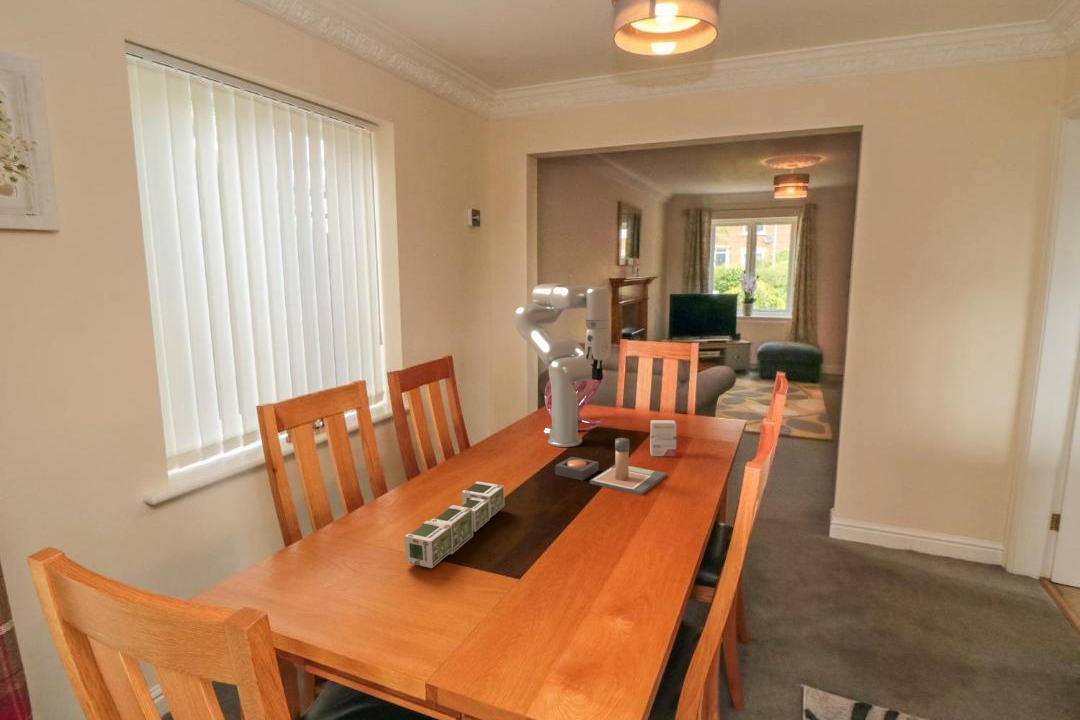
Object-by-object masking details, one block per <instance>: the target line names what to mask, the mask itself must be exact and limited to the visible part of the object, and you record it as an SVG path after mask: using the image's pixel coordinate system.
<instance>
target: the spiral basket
mask: <svg viewBox="0 0 1080 720" xmlns="http://www.w3.org/2000/svg"><path fill="white" fill-rule="evenodd" d="M605 376H606V371H605V370H604V369H603V379H602V380H593V379H590V380H588V381H583V382H578V384H577V385H576V387H575V388H574V389H575V391H576V393H577V396H578V402H579V401H580V402H579V403H578V422H581V423H583V424H587V423H588V424H587V425H592V426H589V427H582V428H581V427H578V432H583V431H584V432H585V431H589V430H592V429H595V428H598V427H599V426H601V425H602V424H603V423H604V422H605V421H606V420H605V419H601V420H596V421H595V420H591V419H588V418H585V417H583V416H581V414H580V413H581V412H582V411H583V409H585V407H586V406H587V405H588V403H589V402H590V401H591V399H592V398H593V397H594V395H595V394H596V392H597V391H598V389H599V387H601V385H602V383H603V381H604V379H605ZM575 384H576V383H572V386H573V387H574V385H575ZM587 391H588V392H587ZM586 392H587V393H586ZM584 395H585V396H584ZM583 396H584V397H583ZM582 397H583V399H582ZM580 399H582V400H580ZM544 403H545V404H544V405H545V407H546V409H547V413H549V415H550V417H551V418H552V393H551V383H550V379H549V380H548V381H547V383H546V385H545V388H544Z"/></svg>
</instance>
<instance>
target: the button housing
mask: <svg viewBox="0 0 1080 720" xmlns="http://www.w3.org/2000/svg"><path fill="white" fill-rule="evenodd" d="M570 460H583V461H586V463H587V465H586V466H585V467H583V468H581V469H580V468H575V467H570V466H568V461H570ZM599 464H600V463H599V461H595V460H590V459H585V458H581V457H575V456H569V457H568V458H567V459H564V460H563V461H561V462H558V463H557V464H555V465H554V470H555V472H554V473H555V474H554V475H556V476H560V477H566V478H569V479H574V480H579V481H584V480H586V479H588V478H590V477H591V476H593V475H594V474H596V473H598V472H599V470H600V469H599ZM597 471H598V472H597ZM592 474H593V475H592Z"/></svg>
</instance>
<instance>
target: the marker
mask: <svg viewBox="0 0 1080 720" xmlns="http://www.w3.org/2000/svg"><path fill="white" fill-rule="evenodd" d="M614 450H615V452H614V454H615V457H614V458H615V459H614V461H615V463H614V465H615V479H617V480H621V481H624V480H628V477H629V466H630V465H629V464H630V461H629V459H630V458H629V457H630V456H629V455H630V452H629V451H630V439H629V438H625V437H617V438H615V439H614Z"/></svg>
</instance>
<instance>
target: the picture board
mask: <svg viewBox="0 0 1080 720" xmlns="http://www.w3.org/2000/svg"><path fill="white" fill-rule="evenodd" d="M666 477H667V472H664V471H658V470H652V469H649V468H648V469H647V468H642V467H638V466H632V465H629V477H628V480H624V481H621V480H617V479H615V464H613V465H612V466H610V467H609V468H607V469H606V470H603V472H601V473H599V474H597V475H596V476H594V477H593V478H590V480H589V484H590V485H594V486H599V487H604V488H607V489H612V490H617V491H622V492H624V493H625V492H626V493H629V492H630V494H634V495H638V496H643V495H644V494H646V493H647V492H648V491H649V490H651V489H652V488H653V487H655V486H656V485H657V484H658V483H660V482H661V481H662V480H663V479H664V478H666Z"/></svg>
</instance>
